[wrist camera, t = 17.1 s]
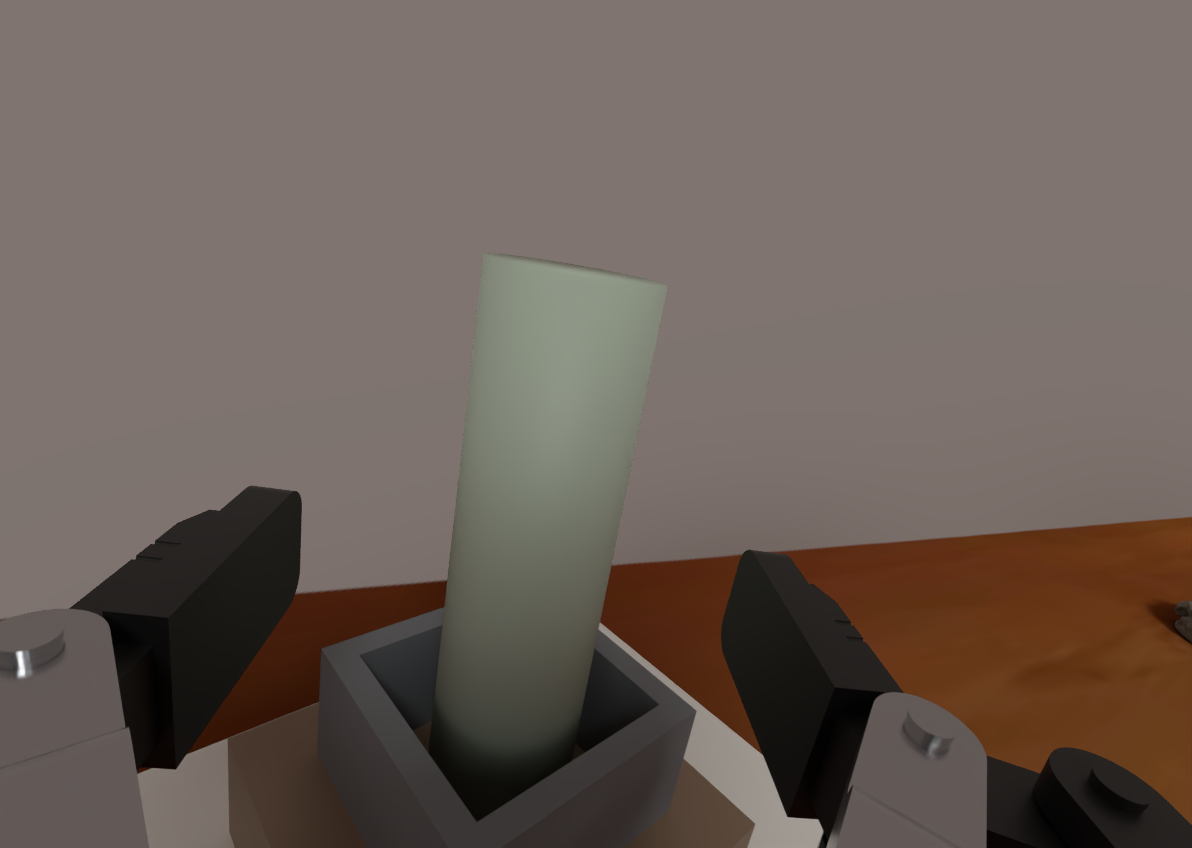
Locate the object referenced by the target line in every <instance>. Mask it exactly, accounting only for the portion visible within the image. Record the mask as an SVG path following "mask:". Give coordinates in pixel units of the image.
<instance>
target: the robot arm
mask: <svg viewBox="0 0 1192 848" xmlns="http://www.w3.org/2000/svg"><path fill="white" fill-rule="evenodd" d="M301 513H302V503H301V497H300V495H299V493H298V492H297V491H289V490H282V489H274V488H266V487H257V486H249V487H247V488H246V489H245V490H243V491H242V492H241V493H240V494H239V495H238V496H236V497H235V498H234V499H233V500H232V501H231V502H229V503H228V504H227V505H226V506H225V507H224V508H222V509H221V510H220V511H216V510H208V511H206V512H203V513H201V514H198V515H196V516H193V517H191V518H188V519H186V520H184V521H181V522H179V523H177V524H176V525H175V526H173V527H172V528H171V529H169V530H168V531H167V532H166V533H165V534H163V535H162V536H161V537H160V538H158V539H157V540H156V541H155V544H150V545H149V546H148V547H147V548H145V549H144V550H143V551H142V552H140V553H139V554H138V555H137V556H136V559H135V560H130V561H129V562H128V563H127V564H125V565H124V566H123V567H121V568H120V569H119V570H118V571H116V572H115V573H114V574H112V575H111V576H110V577H109V578H108V579H106V580H105V581H104V582H102V583H101V584H100V585H99V586H97V587H96V588H95V589H93V590H92V591H91V592H90V593H88V594H87V595H86V596H85V597H83V598H82V599H81V600H80V601H78V602H77V603H76V604H74V605H73V606H72V607H71V608H69V609H53V610H44V611H38V612H32V613H27V614H23V615H19V616H15V617H12V618H9V619H6V620H3V621H0V848H149V844H148V838H147V831H146V825H145V819H144V813H143V807H142V801H141V795H140V789H139V783H138V777H137V770H138V769H139V768H140V767H146V768H160V769H173V770H176V769H177V767H178V766H179V765H180V763H181V762H182V760H183V759H184V757H185V756H186V754H187V753H188V752H189V750H190V749H191V747H192V746H193V744H194V743H195V742H196V740H197V739H198V737H199V736H200V734H201V733H202V731H203V730H204V729H205V727H206V726H207V724H208V723H209V721H210V720H211V719H212V717H213V716H214V714H215V713H216V711H217V710H218V708H219V707H220V706H221V704H222V703H223V701H224V700H225V698H226V697H227V696H228V694H229V693H230V691H231V690H232V688H233V687H234V686H235V684H236V683H237V681H238V680H239V678H240V677H241V675H242V674H243V673H244V671H245V670H246V668H247V667H248V665H249V664H250V663H251V661H252V660H253V658H254V657H255V655H256V654H257V652H258V651H259V650H260V648H261V647H262V645H263V644H264V642H265V641H266V640H267V638H268V637H269V635H270V634H271V632H272V631H273V629H274V628H275V627H276V625H277V624H278V622H279V621H280V619H281V618H282V617H283V615H284V614H285V612H286V611H287V609H288V608H289V606H290V604H291V602H292V600H293V598H294V595H295V592H296V589H297V585H298V580H299V574H300V548H301ZM721 642H722V650H723V654H724V657H725V659H726V662H727V664H728V667H729V670H730V672H731V675H732V677H733V680H734V682H735V685H736V687H737V690H738V693H739V695H740V698H741V700H742V703H743V705H744V708H745V710H746V713H747V716H748V718H749V721H750V723H751V726H752V728H753V731H754V733H755V736H756V739H757V741H758V744H759V746H760V749H761V751H762V754H763V756H764V759H765V762H766V764H767V767H768V769H769V772H770V774H771V777H772V779H773V782H774V785H775V787H776V790H777V792H778V795H779V797H780V800H781V802H782V805H783V807H784V810H785V813H786V815H787V817H791V818H805V819H818V820H819V822H820V824H821V827H822V829H823V833H822V835H821V838H820V840H819V843H818V845H817V848H1192V825H1191V824H1190V823H1189V822H1188V821H1187V820H1186V819H1185V818H1184V817H1183V816H1182V815H1181V814H1180V813H1179V812H1178V811H1177V810H1176V809H1175V808H1174V807H1173V806H1172V805H1171V804H1170V803H1169V802H1168V801H1167V800H1165V799H1164V798H1163V797H1162V796H1161V795H1160V794H1159V793H1158V792H1157V791H1155V790H1154V789H1153V788H1152V787H1151V786H1149V785H1148V784H1147V783H1145V782H1144V781H1143V780H1141V779H1140V778H1138V777H1137V776H1136V775H1134V774H1132V773H1131V772H1129V771H1128V770H1126V769H1124V768H1123V767H1121V766H1119V765H1117V764H1115V763H1114V762H1111V761H1109V760H1107V759H1105V758H1103V757H1101V756H1098V755H1096V754H1093V753H1090V752H1087V751H1084V750H1080V749H1075V748H1058V749H1056V750H1054V751H1053V752H1052V753H1051V754H1050V756H1049V758H1048V760H1047V762H1046V764H1045V766H1044V768H1043V770H1042V771H1041V773H1037V772H1034V771H1031V770H1028V769H1025V768H1022V767H1019V766H1016V765H1013V764H1010V763H1007V762H1004V761H1001V760H998V759H995V758H992V757H989V756H986V753H985V751H984V748H983V746H982V745H981V743H980V741H979V740H978V739H977V737H976V736H975V735H974V734H973V733H972V731H971V730H970V729H969V728H968V727H967V726H966V725H964V724H963V723H962V722H961V721H960V720H959V719H957V718H956V717H955V716H953V715H952V714H951V713H949V712H948V711H946V710H944V709H943V708H941V707H939V706H937V705H936V704H934V703H932V702H929V701H927V700H925V699H923V698H920V697H917V696H914V695H910V694H906V693H903V691H902V690H901V689H900V687H899V686H898V685H897V683H896V682H895V681H894V679H893V678H892V677H891V675H890V674H889V673H888V671H887V670H886V668H885V667H884V666H883V664H882V663H881V662H880V660H879V659H878V658H877V656H876V655H875V654H874V652H873V651H872V650H871V648H870V647H869V646H868V644H867V643H866V642H863V638H862V636H861V635H860V634H859V632H858V631H857V630H856V628H855V627H854V626H852V625H851V621H850V620H849V619H848V617H847V616H846V615H845V613H844V612H843V611H842V609H841V608H840V607H839V605H838V604H837V603H836V602H835V601H834V600H833V599H831V598H830V597H829V596H828V595H826V594H825V593H824V592H823V591H821V590H820V589H819V588H817V587H816V586H815V585H814V584H808V582H807V581H806V579H805V578H804V576H803V575H802V574H801V572H800V571H799V569H798V568H797V567H796V565H795V564H794V562H793V561H792V559H791V558H790V557H789V556H788V555H785V554H778V553H770V552H762V551H753V550H747V551H745V552H744V553H743V555H742V557H741V559H740V562H739V565H738V569H737V572H736V576H735V579H734V583H733V586H732V590H731V593H730V597H729V600H728V604H727V607H726V611H725V614H724V618H723V622H722V630H721Z"/></svg>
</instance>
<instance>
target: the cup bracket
mask: <svg viewBox="0 0 1192 848" xmlns="http://www.w3.org/2000/svg"><path fill="white" fill-rule="evenodd" d="M443 615H444V607H443V608H440V609H437V610H434V611H431V612H428V613H425V614H422V615H419V616H416V617H414V618H411V619H408V620H405V621H402V622H399V623H396V624H393V625H390V626H387V627H384V628H381V629H378V630H375V631H372V632H369V633H366V634H363V635H360V636H357V637H354V638H351V639H348V640H345V641H342V642H339V643H337V644H334V645H331V646H328V647H325V648H322V649H321V668H320V693H319V702H318V703H315V704H313V705H310V706H308V707H305V708H303V709H300V710H298V711H295V712H293V713H290V714H288V715H285V716H283V717H280V718H277V719H275V720H272V721H270V722H267V723H265V724H262V725H260V726H257V727H255V728H252V729H250V730H247V731H245V732H242V733H240V734H237V735H235V736H232V737H230V738H227V739H224V740H222V741H219V742H217V743H214V744H212V745H209V746H207V747H204V748H202V749H199V750H197V751H194V752H192V753H189V754H187V755H186V756H185V757H184V759H183V760H182V762H181V763H180V765H179V766H178V767H177V769H176V770H173V769H160V768H151V769H149V770H146V771H144V772H141V773H139V774H137V777H138V783H139V789H140V795H141V801H142V807H143V813H144V819H145V825H146V831H147V838H148V844H149V848H817V845H818V843H819V840H820V838H821V835H822V833H823V829H822V827H821V824H820V822H819V820H818V819H805V818H791V817H787V815H786V813H785V810H784V807H783V805H782V802H781V800H780V797H779V795H778V792H777V790H776V787H775V785H774V782H773V779H772V777H771V774H770V772H769V769H768V767H767V764H766V762H765V759H764V756H763V755H762V754H761V753H759V752H758V751H757V750H756V749H754V748H753V747H752V746H751V745H749V744H748V743H747V742H746V741H745V740H743V739H742V738H741V737H740V736H738V735H737V734H736V733H735V732H734V731H732V730H731V729H730V728H729V727H727V726H726V725H725V724H724V723H723V722H721V721H720V720H719V719H718V718H716V717H715V716H714V715H713V714H711V713H710V712H709V711H708V710H707V709H705V708H704V707H703V706H702V705H700V704H699V703H698V702H697V701H696V700H694V699H693V698H692V697H691V696H689V695H688V694H687V693H686V692H685V691H683V690H682V689H681V688H680V687H678V686H677V685H676V684H675V683H673V682H672V681H671V680H670V679H669V678H667V677H666V676H665V675H664V674H662V673H661V672H660V671H659V670H658V669H656V668H655V667H654V666H653V665H651V664H650V663H649V662H648V661H647V660H645V659H644V658H643V657H642V656H640V655H639V654H638V653H637V652H636V651H634V650H633V649H632V648H631V647H629V646H628V645H627V644H626V643H624V642H623V641H622V640H621V639H620V638H618V637H617V636H616V635H615V634H613V633H612V632H611V631H610V630H609V629H607V628H606V627H605V626H604V625H602V624H601V623H599V628H598V633H597V638H596V643H595V648H594V653H593V658H592V663H591V668H590V673H589V678H588V683H587V688H586V693H585V697H584V702H583V707H582V712H581V717H580V722H579V727H578V732H577V737H576V742H575V747H574V752H573V757H572V761H571V762H570V763H568V764H567V765H565V766H564V767H562V768H560V769H559V770H557V771H556V772H554V773H553V774H551V775H550V776H548V777H546V778H545V779H543V780H542V781H540V782H539V783H537V784H536V785H534V786H532V787H531V788H529V789H528V790H526V791H525V792H523V793H522V794H520V795H518V796H517V797H515V798H514V799H512V800H511V801H509V802H508V803H506V804H504V805H503V806H501V807H500V808H498V809H497V810H495V811H494V812H492V813H490V814H489V815H487V816H486V817H484V818H483V819H481V820H480V821H478V822H476V820H475V819H474V817H473V816H472V815H471V813H470V812H469V810H468V809H467V807H466V806H465V805H464V803H463V802H462V800H461V799H460V798H459V796H458V795H457V793H456V792H455V790H454V789H453V788H452V786H451V785H450V783H449V782H448V780H447V779H446V778H445V776H444V775H443V773H442V772H441V770H440V769H439V768H438V766H437V765H436V763H435V762H434V760H433V759H432V758H431V756H430V755H429V753H428V751H429V742H430V733H431V724H432V715H433V706H434V697H435V688H436V679H437V670H438V661H439V652H440V643H441V634H442V625H443Z"/></svg>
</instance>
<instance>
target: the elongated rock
mask: <svg viewBox="0 0 1192 848" xmlns="http://www.w3.org/2000/svg"><path fill="white" fill-rule="evenodd" d="M1174 613H1175V614H1177V615H1178V616H1182V617H1181V618H1180V620H1177V621H1176V622H1175V624H1174V625H1175V627H1176V629H1177V630H1178V631H1179V632H1180V634H1181V635H1182V636H1183V637H1185V638H1186V639H1187V640H1188V641H1190V642H1191V643H1192V601H1186V602H1181V601H1180V602H1179V603H1178V605H1177V606H1176V607H1175V608H1174Z"/></svg>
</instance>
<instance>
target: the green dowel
mask: <svg viewBox="0 0 1192 848" xmlns="http://www.w3.org/2000/svg"><path fill="white" fill-rule="evenodd" d="M666 292H667V286H666V285H664V284H661V283H658V282H655V281H651V280H647V279H643V278H639V277H634V276H629V275H625V274H620V273H615V272H611V271H605V270H600V269H595V268H590V267H584V266H578V265H573V264H567V263H561V262H555V261H548V260H542V259H535V258H527V257H521V256H512V255H503V254H490V253H487V254H484V255H483V264H482V272H481V281H480V290H479V299H478V309H477V317H476V326H475V335H474V344H473V354H472V363H471V372H470V381H469V390H468V400H467V408H466V418H465V426H464V435H463V444H462V453H461V462H460V471H459V480H458V489H457V498H456V508H455V516H454V526H453V534H452V543H451V552H450V561H449V570H448V579H447V588H446V597H445V606H444V615H443V625H442V634H441V643H440V652H439V661H438V670H437V679H436V688H435V697H434V706H433V715H432V724H431V733H430V742H429V751H428V753H429V755H430V756H431V758H432V759H433V760H434V762H435V763H436V765H437V766H438V768H439V769H440V770H441V772H442V773H443V775H444V776H445V778H446V779H447V780H448V782H449V783H450V785H451V786H452V788H453V789H454V790H455V792H456V793H457V795H458V796H459V798H460V799H461V800H462V802H463V803H464V805H465V806H466V807H467V809H468V810H469V812H470V813H471V815H472V816H473V817H474V819H475V820H476V822H478V821H480V820H481V819H483V818H484V817H486V816H487V815H489V814H490V813H492V812H494V811H495V810H497V809H498V808H500V807H501V806H503V805H504V804H506V803H508V802H509V801H511V800H512V799H514V798H515V797H517V796H518V795H520V794H522V793H523V792H525V791H526V790H528V789H529V788H531V787H532V786H534V785H536V784H537V783H539V782H540V781H542V780H543V779H545V778H546V777H548V776H550V775H551V774H553V773H554V772H556V771H557V770H559V769H560V768H562V767H564V766H565V765H567V764H568V763H570V762H571V761H572V757H573V752H574V747H575V742H576V737H577V732H578V727H579V722H580V717H581V712H582V707H583V702H584V697H585V693H586V688H587V683H588V678H589V673H590V668H591V663H592V658H593V653H594V648H595V643H596V638H597V633H598V628H599V623H600V618H601V613H602V608H603V603H604V599H605V594H606V589H607V584H608V579H609V574H610V569H611V564H612V559H613V554H614V549H615V544H616V539H617V534H618V529H619V524H620V519H621V514H622V509H623V505H624V500H625V494H626V490H627V484H628V479H629V475H630V469H631V464H632V460H633V455H634V450H635V445H636V440H637V435H638V430H639V425H640V420H641V415H642V411H643V405H644V400H645V396H646V391H647V386H648V381H649V376H650V370H651V366H652V361H653V356H654V351H655V346H656V341H657V336H658V331H659V326H660V321H661V316H662V311H663V307H664V302H665V296H666Z"/></svg>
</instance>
